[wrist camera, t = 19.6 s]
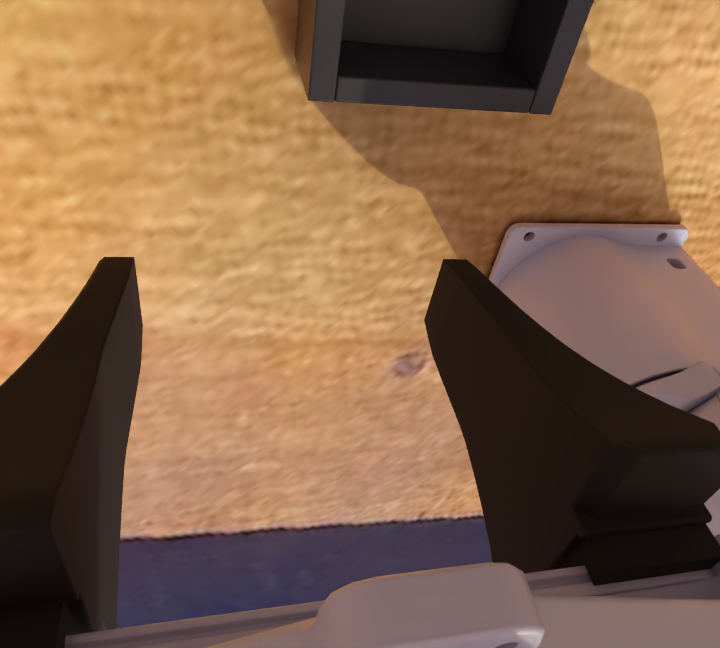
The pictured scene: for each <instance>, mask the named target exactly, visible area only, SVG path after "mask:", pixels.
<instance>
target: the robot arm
mask: <svg viewBox="0 0 720 648" xmlns="http://www.w3.org/2000/svg"><path fill="white" fill-rule="evenodd" d="M528 232H530V234H529V235H527V236H525V234H527V233H528ZM658 235H659V236H658ZM688 235H689V230H688V229H687V228H686V227H685V226H684V225H674V224H580V223H516V224H514V225H512V226H510V227H509V228H508V230H507V231H506V234H505V236H504V239H503V242H502V244H501V247H500V250H499V252H498V255H497V258H496V260H495V263H494V266H493V268H492V271H491V274H490V276H489V279H488V278H487V277H486V276H485V275H483V274H482V273H481V272H480V271H479V270H478V269H477V268H476V267H475V266H473V265H472V264H471V263H470V262H469V261H468V260H462V259H443V262H442V265H441V269H440V272H439V275H438V278H437V281H436V285H435V288H434V291H433V294H432V297H431V300H430V304H429V307H428V310H427V313H426V316H425V325H426V329H427V334H428V339H429V343H430V347H431V351H432V355H433V358H434V360H435V363H436V366H437V368H438V371H439V374H440V376H441V379H442V381H443V384H444V386H445V389H446V392H447V394H448V397H449V399H450V402H451V404H452V407H453V409H454V412H455V414H456V417H457V420H458V422H459V425H460V427H461V430H462V433H463V436H464V439H465V442H466V446H467V449H468V453H469V457H470V461H471V464H472V468H473V472H474V476H475V480H476V484H477V488H478V493H479V497H480V501H481V505H482V510H483V515H484V519H485V524H486V529H487V534H488V539H489V544H490V549H491V555H492V561H493V563H480V564H472V565H465V566H457V567H449V568H441V569H433V570H426V571H418V572H410V573H402V574H394V575H386V576H379V577H374V578H369V579H365V580H361V581H357V582H353V583H350V584H348V585H346V586H344V587H342V588H340V589H338V590H336V591H334V592H332V593H331V594H330V596H329V597H328V598H327V599H326V600H325V601H318V602H311V603H303V604H296V605H289V606H281V607H274V608H266V609H259V610H252V611H244V612H237V613H229V614H222V615H215V616H207V617H200V618H192V619H185V620H178V621H170V622H163V623H155V624H148V625H141V626H133V627H126V628H118V629H116V627H117V595H118V570H119V547H120V528H121V509H122V493H123V477H124V464H125V456H126V448H127V443H128V437H129V431H130V425H131V420H132V414H133V408H134V402H135V397H136V391H137V385H138V379H139V373H140V367H141V352H142V328H143V324H142V316H141V308H140V300H139V292H138V284H137V277H136V269H135V261H134V257H104V258H103V259H101V260H100V261H99V263H98V264H97V266H96V268H95V270H94V272H93V273H92V275H91V277H90V278H89V280H88V281H87V283H86V285H85V286H84V288H83V289H82V291H81V292H80V294H79V295H78V297H77V298H76V300H75V301H74V302H73V304H72V305H71V306H70V308H69V309H68V310H67V312H66V313H65V315H64V316H63V317H62V319H61V320H60V321H59V323H58V324H57V325H56V326H55V328H54V329H53V330H52V331H51V332H50V334H49V335H48V336H47V337H46V338H45V340H44V341H43V342H42V343H41V344H40V346H39V347H38V348H37V349H36V350H35V351H34V352H33V354H32V355H31V356H30V357H29V358H28V359H27V360H26V361H25V362H24V363H23V364H22V365H21V366H20V367H19V368H18V369H17V370H16V371H15V372H14V373H13V374H12V375H11V376H10V377H9V378H8V379H7V380H6V381H5V382H4V383H3V384H2V385H1V386H0V648H720V288H719V287H718V286H717V285H716V284H715V283H714V282H713V281H712V280H711V278H710V277H709V276H708V275H707V274H706V273H705V272H704V271H703V270H702V269H701V268H700V267H699V266H698V265H697V263H696V262H695V261H694V260H693V259H692V258H691V257H690V256H689V255H688V254H687V253H686V252H685V251H684V250H683V249H682V245H683V243H684V242H685V240H686V239H687V237H688Z"/></svg>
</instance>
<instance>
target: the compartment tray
mask: <svg viewBox="0 0 720 648" xmlns="http://www.w3.org/2000/svg"><path fill="white" fill-rule="evenodd" d="M592 3H593V0H298V13H297V28H296V43H295V58H296V61H297V64H298V68H299V71H300V74H301V78H302V81H303V84H304V87H305V91H306V94H307V97H308V100H310V101H325V102H334V100H335V101H336V102H349V103H366V104H383V105H400V106H417V107H434V108H451V109H468V110H485V111H502V112H519V113H528V112H529V113H530V114H547V115H550V114H551V113H552V110H553V107H554V105H555V102H556V99H557V96H558V94H559V91H560V88H561V86H562V83H563V80H564V78H565V75H566V72H567V70H568V67H569V64H570V62H571V59H572V56H573V54H574V51H575V48H576V46H577V43H578V40H579V38H580V35H581V32H582V30H583V27H584V24H585V22H586V19H587V16H588V14H589V11H590V8H591V6H592Z"/></svg>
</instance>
